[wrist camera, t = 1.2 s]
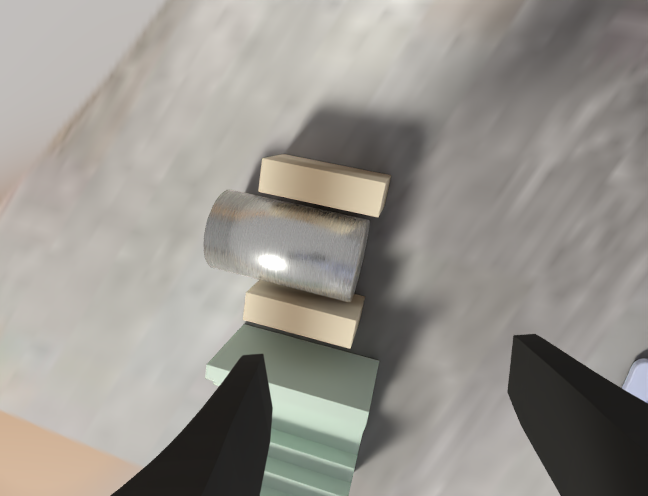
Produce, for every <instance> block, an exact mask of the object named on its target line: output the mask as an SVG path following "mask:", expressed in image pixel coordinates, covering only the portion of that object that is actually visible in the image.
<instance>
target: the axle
mask: <svg viewBox="0 0 648 496" xmlns="http://www.w3.org/2000/svg"><path fill="white" fill-rule="evenodd" d="M369 224H370V221H369V220H368V219H363V218H358V217H354V216H349V215H345V214H340V213H335V212H331V211H326V210H322V209H317V208H312V207H308V206H303V205H299V204H294V203H289V202H285V201H280V200H276V199H271V198H266V197H262V196H257V195H253V194H248V193H243V192H239V191H234V190H226V191H224V192H223V193H222V194H221V195H220V196H219V197H218V199H217V200H216V202H215V203H214V205H213V207H212V209H211V212H210V214H209V217H208V220H207V224H206V228H205V234H204V255H205V259H206V262H207V264H208V265H209V266H210V267H212V268H215V269H219V270H223V271H227V272H231V273H235V274H239V275H243V276H247V277H251V278H255V279H259V280H263V281H267V282H271V283H275V284H279V285H282V286H286V287H290V288H294V289H298V290H302V291H306V292H310V293H314V294H318V295H322V296H326V297H330V298H334V299H338V300H342V301H346V302H351V300H352V298H353V295H354V292H355V289H356V286H357V282H358V279H359V275H360V271H361V267H362V263H363V258H364V253H365V248H366V244H367V239H368V233H369Z"/></svg>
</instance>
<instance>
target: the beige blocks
mask: <svg viewBox="0 0 648 496" xmlns="http://www.w3.org/2000/svg"><path fill="white" fill-rule="evenodd" d="M390 179H391V175H387V174H382V173H377V172H372V171H367V170H362V169H357V168H352V167H347V166H342V165H337V164H332V163H327V162H322V161H317V160H312V159H306V158H301V157H296V156H291V155H286V154H281V155H276V156H271V157H266V158H262V165H261V173H260V182H259V190H258V192H262V193H267V194H272V195H276V196H281V197H285V198H290V199H295V200H299V201H304V202H309V203H313V204H318V205H323V206H327V207H332V208H337V209H341V210H346V211H350V212H355V213H360V214H364V215H369V216H374V217H379V215H380V213H381V212H382V210H383V208H384V206H385V202H386V197H387V193H388V188H389V183H390ZM364 299H365V297H364V296H360V295H356V294H354V295H353V298H352V300H351V302H346V301H342V300H338V299H334V298H330V297H326V296H322V295H318V294H314V293H310V292H306V291H302V290H298V289H294V288H290V287H286V286H282V285H279V284H275V283H271V282H267V281H263V280H259V281H258V282H257V283H256V284H255V285H254V286H252V287H251V288H250V289H249V290H248V291H247V292H246V298H245V306H244V314H243V320H246V321H249V322H253V323H257V324H260V325H264V326H268V327H272V328H275V329H279V330H283V331H286V332H290V333H294V334H298V335H301V336H305V337H309V338H312V339H316V340H320V341H323V342H327V343H331V344H335V345H338V346H342V347H346V348H349V349H351V346H352V343H353V340H354V337H355V334H356V331H357V328H358V325H359V322H360V318H361V313H362V309H363V304H364Z"/></svg>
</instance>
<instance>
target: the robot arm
mask: <svg viewBox="0 0 648 496" xmlns="http://www.w3.org/2000/svg"><path fill="white" fill-rule="evenodd" d="M508 394H509V397H510V399H511V402H512V405H513V407H514V410H515V412H516V414H517V417H518V419H519V421H520V424H521V426H522V428H523V430H524V431H525V433H526V435H527V437H528V439H529V440H530V442H531V444H532V446H533V448H534V449H535V451H536V453H537V455H538V456H539V458H540V460H541V462H542V463H543V465H544V467H545V469H546V470H547V472H548V474H549V476H550V477H551V479H552V481H553V483H554V485H555V486H556V488H557V490H558V492H559V493H560V495H561V496H648V359H644V358H643V359H638V360H637V361H635V362H634V363H633V365H632V367H631V369H630V371H629V373H628V375H627V378H626V380H625V382H624V384H623V386H622V388H620V387H618V386H617V385H615V384H613V383H612V382H610V381H609V380H607V379H605V378H604V377H602V376H600V375H599V374H597V373H596V372H594V371H592V370H591V369H589V368H588V367H586V366H585V365H583V364H582V363H580V362H578V361H577V360H575V359H574V358H572V357H571V356H569V355H568V354H566V353H565V352H563V351H562V350H560V349H559V348H557V347H555V346H554V345H552V344H551V343H549V342H548V341H546V340H545V339H543V338H541V337H540V336H538V335H536V334H528V335H514V336H513V346H512V355H511V365H510V374H509V383H508ZM272 412H273V406H272V401H271V395H270V389H269V383H268V377H267V372H266V366H265V360H264V354H250V355H242V356H241V357H240V359H239V360H238V361H237V363H236V364H235V365H234V367H233V368H232V370H231V371H230V372H229V374H228V375H227V376H226V378H225V379H224V381H223V382H222V383H221V385H220V386H219V387H218V389H217V390H216V391H215V392H214V394H213V395H212V396H211V397H210V399H209V400H208V401H207V402H206V404H205V405H204V406H203V407H202V409H201V410H200V411H199V412H198V413H197V414H196V416H195V417H194V418H193V419H192V420H191V421H190V422H189V424H188V425H187V426H186V427H185V428H184V429H183V430H182V432H181V433H180V434H179V435H178V436H177V437H176V438H175V439H174V440H173V441H172V442H171V443H170V444H169V445H168V446H167V447H166V448H165V449H164V450H163V451H162V452H161V453H160V454H159V455H158V456H157V457H156V458H155V459H154V460H152V461H151V462H150V463H149V464H148V465H147V466H146V467H144V468H143V469H142V470H141V471H140V472H139V473H137V474H136V475H135V476H134V477H133V478H131V480H129V481H128V482H127V483H126V484H124V485H123V486H122V487H121V488H120V489H118V490H117V491H116V492H115V493H113V494H112V495H111V496H260V492H261V487H262V481H263V476H264V471H265V466H266V461H267V456H268V451H269V445H270V438H271V426H272Z"/></svg>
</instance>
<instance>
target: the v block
mask: <svg viewBox="0 0 648 496" xmlns="http://www.w3.org/2000/svg"><path fill="white" fill-rule="evenodd" d="M250 354H264V360H265V366H266V372H267V377H268V383H269V389H270V395H271V401H272V406H273V412H272V426H271V438H270V445H269V451H268V456H267V461H266V466H265V471H264V476H263V481H262V487H261V492H260V496H348V495H349V491H350V486H351V481H352V477H353V473H354V469H355V464H356V459H357V455H358V450H359V446H360V442H361V438H362V434H363V431H364V429H365V427H366V423H367V419H368V415H369V410H370V405H371V400H372V395H373V390H374V385H375V380H376V375H377V370H378V365H379V361H378V360H375V359H371V358H367V357H364V356H360V355H356V354H353V353H349V352H345V351H341V350H338V349H334V348H330V347H327V346H323V345H319V344H316V343H312V342H308V341H305V340H301V339H297V338H294V337H290V336H286V335H283V334H279V333H275V332H272V331H268V330H264V329H261V328H257V327H253V326H249V325H246V324H243V326H242V327H241V328H240V329H239V330H238V331H237V332H236V333H235V334H234V335H233V336H232V337H231V339H230V340H229V341H228V342H227V343H226V344H225V345H224V346H223V347H222V348H221V349H220V351H219V352H218V353H217V354H216V355H215V356H214V357H213V358H212V359H211V360H210V361H209V362H208V364H207V366H206V376H205V379H208V380H212V381H213V384H214V385H218V386H220V385H221V383H222V382H223V381H224V379H225V378H226V376H227V375H228V374H229V372H230V371H231V370H232V368H233V367H234V365H235V364H236V363H237V361H238V360H239V359H240V357H241V356H242V355H250Z"/></svg>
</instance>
